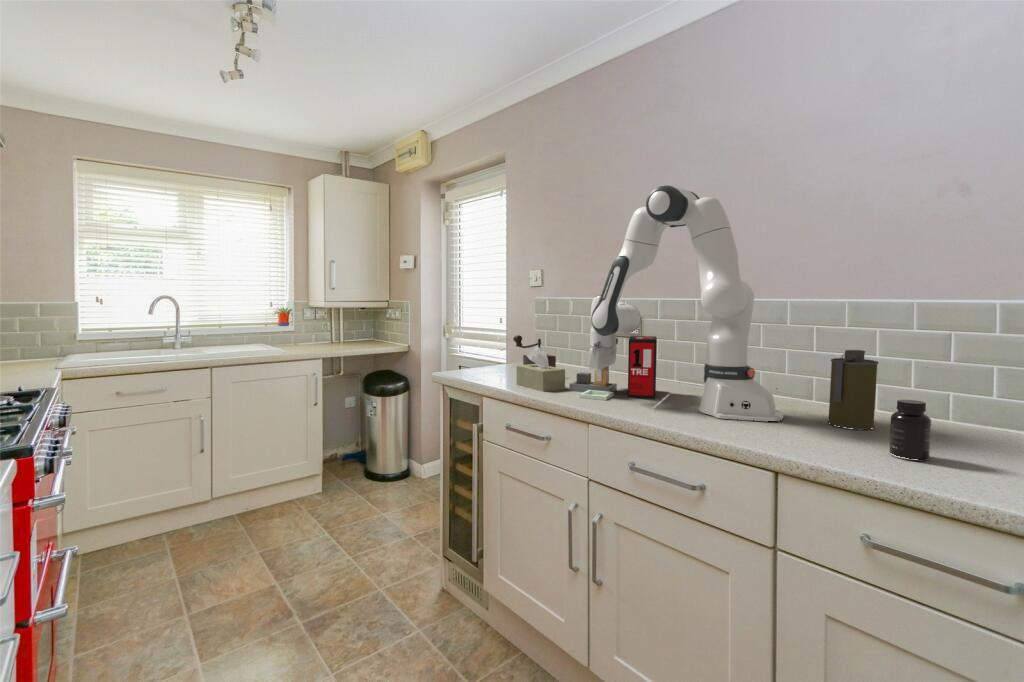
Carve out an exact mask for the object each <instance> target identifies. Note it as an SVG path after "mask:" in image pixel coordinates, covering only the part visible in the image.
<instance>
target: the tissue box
mask: <svg viewBox="0 0 1024 682" xmlns="http://www.w3.org/2000/svg"><path fill="white" fill-rule="evenodd" d="M540 350H541V347H540V348H539V347H538V346H537V347H536V346H535V348H534V349H533V350H531V351H530V352H529V353H528V354H525V355H526V356H527V357H528V358H529V359H530V360H531V361H533V362H534V363H536V364H528V365H523V364H518V365H516V386H517V385H519V386H523V387H526V388H525V389H532V390H535V391H539V392H542V393H543V392H544V393H545V392H552V391H559V390H560V391H561V390H566V369H565V368H560V367H551V366H549V365H548V357H547V355H548V353H546V351H545V350H541V351H540ZM519 386H518V387H519ZM523 387H522V388H523Z"/></svg>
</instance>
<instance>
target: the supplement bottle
mask: <svg viewBox="0 0 1024 682" xmlns="http://www.w3.org/2000/svg"><path fill="white" fill-rule="evenodd" d="M926 405H927V403H926V402H925V401H922V400H914V399H898V400H897V401H896V410H897V411H895V412H894V413H892V414H891V416H890V428H889V429H890V430H889V445H888V446H889V454H890V453H892V454H894V455H896V456H900V457H905V458H909V459H918V460H926V459H928V460H929V459H930V456H931V455H930V454H931V453H930V452H931V433H932V419H931V418H930V417H929V416H928V415H927V414H925V413H926V412H927V408H926ZM926 461H927V460H926Z"/></svg>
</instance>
